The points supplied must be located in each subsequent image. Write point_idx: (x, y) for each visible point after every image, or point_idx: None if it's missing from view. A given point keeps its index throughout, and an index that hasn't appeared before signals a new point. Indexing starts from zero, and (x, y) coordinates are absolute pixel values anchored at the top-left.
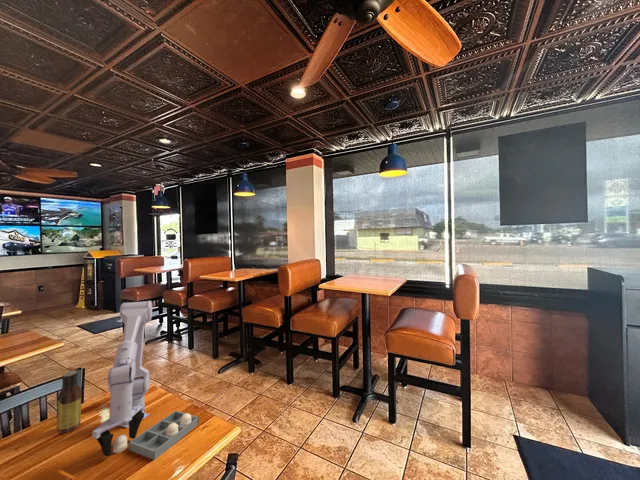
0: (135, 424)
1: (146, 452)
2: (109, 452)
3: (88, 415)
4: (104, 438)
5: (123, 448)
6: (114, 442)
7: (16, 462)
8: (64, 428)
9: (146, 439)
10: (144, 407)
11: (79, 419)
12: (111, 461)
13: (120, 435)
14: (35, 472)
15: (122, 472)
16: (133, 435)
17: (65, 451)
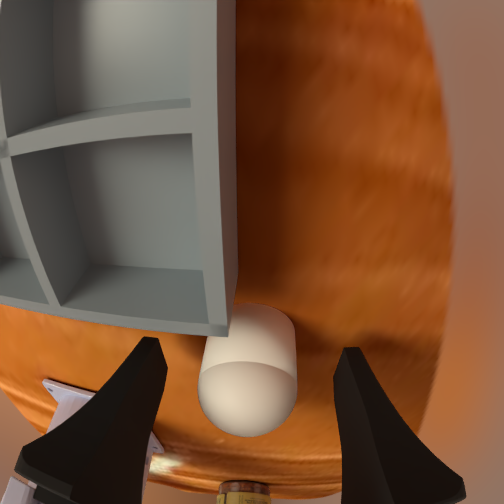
0: (111, 440)
1: (225, 14)
2: (359, 365)
3: (189, 481)
4: (463, 499)
5: (253, 326)
6: (290, 412)
7: None
8: (264, 496)
9: (96, 254)
10: (8, 500)
11: (226, 498)
12: (349, 299)
13: (238, 434)
14: None
15: (428, 109)
16: (150, 361)
17: (323, 455)
